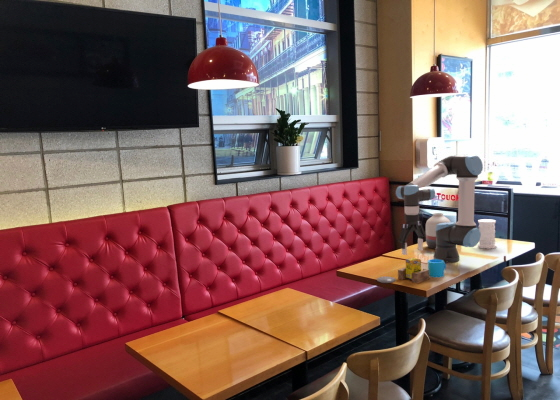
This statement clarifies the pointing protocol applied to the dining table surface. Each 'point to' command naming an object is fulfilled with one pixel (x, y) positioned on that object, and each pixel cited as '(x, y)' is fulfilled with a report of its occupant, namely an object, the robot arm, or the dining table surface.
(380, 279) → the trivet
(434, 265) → the mug
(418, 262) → the supplement box
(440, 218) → the vase
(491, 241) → the decorative container
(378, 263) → the dining table surface
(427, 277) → the pocket
